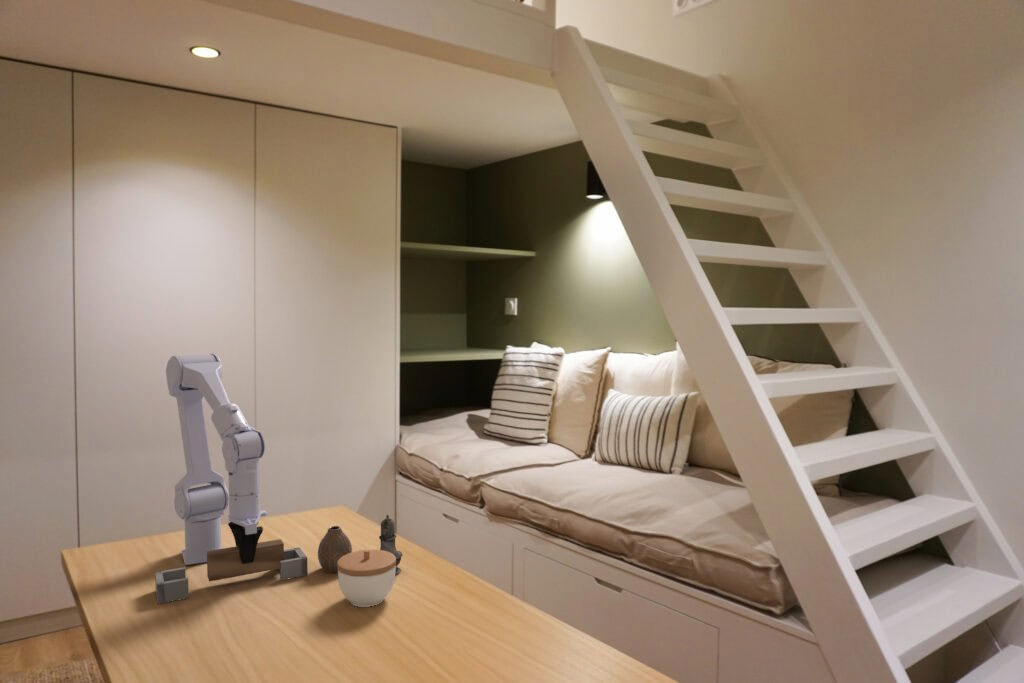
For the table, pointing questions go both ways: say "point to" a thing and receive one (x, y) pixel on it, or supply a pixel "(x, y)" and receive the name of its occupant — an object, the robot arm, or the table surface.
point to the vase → (333, 548)
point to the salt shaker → (390, 540)
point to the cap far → (293, 564)
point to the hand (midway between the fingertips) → (246, 559)
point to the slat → (230, 564)
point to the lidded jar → (366, 576)
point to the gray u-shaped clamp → (171, 585)
